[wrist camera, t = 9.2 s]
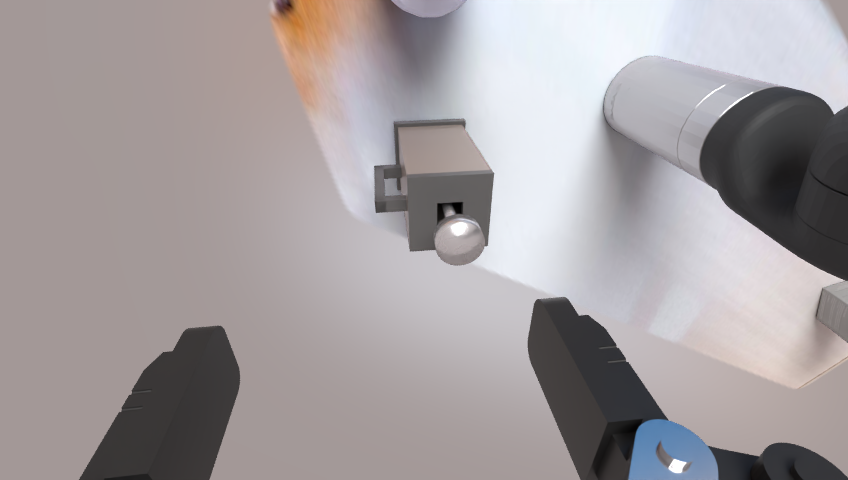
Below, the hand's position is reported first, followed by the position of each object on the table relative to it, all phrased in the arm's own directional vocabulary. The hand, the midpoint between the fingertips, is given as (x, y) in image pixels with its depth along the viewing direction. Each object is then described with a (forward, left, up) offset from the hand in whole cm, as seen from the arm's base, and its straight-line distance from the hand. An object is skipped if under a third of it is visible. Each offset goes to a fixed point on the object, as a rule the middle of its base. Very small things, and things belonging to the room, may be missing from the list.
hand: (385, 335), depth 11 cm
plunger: (-6, +10, -36) cm, 38 cm away
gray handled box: (-5, +10, -40) cm, 42 cm away
